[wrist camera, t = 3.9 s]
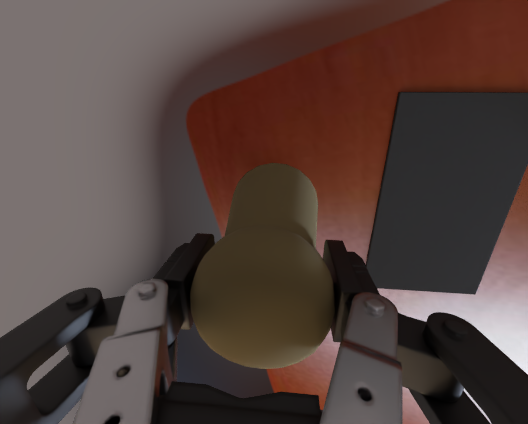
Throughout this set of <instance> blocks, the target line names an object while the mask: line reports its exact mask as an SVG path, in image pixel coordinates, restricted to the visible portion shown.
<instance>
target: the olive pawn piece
mask: <svg viewBox="0 0 528 424" xmlns="http://www.w3.org/2000/svg"><path fill="white" fill-rule="evenodd" d="M317 214H318V200H317V194H316V190H315V188H314V187H313V185H312V183H311V181H310V179H308V178H307V177H306V176H305V175H304V174H303V173H302V172H301V171H300V170H298V169H296V168H293V167H291V166H289V165H287V164H278V163H270V164H265V165H260V166H257V167H256V168H254V169H252V170H251V171H249V172H247V173H246V174H245V175H244V176H243V178H242V179H241V180H240V181H239V182H238V184H237V187H236V189H235V192H234V194H233V199H232V204H231V208H230V213H229V218H228V223H227V227H226V232H225V237H223V238H222V239H220V240H219V241H218V242H217V243H216V244H215V245H214V246H213V247H212V248H211V249H210V250H209V251H208V252H207V253H206V254H205V255H204V257H203V259H202V260H201V262H200V264H199V265H198V268H197V271H196V273H195V276H194V278H193V281H192V286H191V292H190V302H191V313H192V317H193V320H194V323H195V325H196V328H197V330H198V332H199V335H200V336H201V338H202V339H203V340H204V341H205V342H206V343H207V345H208V346H209V347H210V348H211V349H212V350H214V351H215V352H216V353H218V354H220V355H221V356H223V357H224V358H225V359H227V360H230V361H232V362H235V363H238V364H240V365H243V366H247V367H255V368H261V369H269V368H283V367H286V366H289V365H292V364H295V363H298V362H301V361H302V360H304V359H305V358H307V357H308V356H310V355H311V354H313V353H314V352H315V351H316V349H317V348H318V347H319V346H320V344H321V343H322V342H323V340H324V339H325V337H326V336H327V334H328V332H329V331H330V328H331V325H332V321H333V317H334V313H335V304H336V302H335V292H334V286H333V281H332V277H331V273H330V271H329V269H328V268H327V266H326V264H325V262H324V261H323V259H322V257H321V256H320V254H319V253H318V252H317V250H316V231H317Z"/></svg>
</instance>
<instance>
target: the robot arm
mask: <svg viewBox="0 0 528 424" xmlns="http://www.w3.org/2000/svg"><path fill="white" fill-rule="evenodd" d="M214 245H215V242H214V236H213V235H212V234H199V233H197V234H196V235H195V236H194V238H193V239H192V241H191V242H190V243H184V244H183V245H181V246H180V247H178V248H176V250H175V251H174V252H173V253H172V255H171V256H170V257H169V258H168V260H167V262H165V263H164V265H163V266H162V267H161V269H160V270H159V271H158V272H157V274H156V275H155V276H154V277H153V279H148V280H144V281H141V282H139V283H137V284H135V285H134V286H132V287H131V288H130V289H129V290H128V291H127V293H126V295H125V296H120V297H114V298H107V299H103V297H102V294H101V291H100V290H98V289H96V288H83V289H79V290H76V291H73V292H70V293H68V294H66V295H65V296H63V297H61V298H60V299H58V300H57V301H55V302H54V303H52V304H51V305H50V306H48V307H46V308H45V309H43V310H42V311H40V312H39V313H37V314H36V315H34V316H33V317H31V318H30V319H28V320H27V321H25V322H24V323H22V324H21V325H19V326H17V327H16V328H15V329H13V330H11V331H10V332H8V333H7V334H5V335H4V336H2V337H1V338H0V424H58V423H59V422H60V421H61V420H62V419H63V418H64V416H65V415H66V414H67V413H68V412H69V411H70V410H71V409H72V408H73V407H74V405H76V403H77V402H78V401H79V400H80V399H81V401H80V404H79V407H78V410H77V412H76V416H75V418H74V421H73V424H402V386H403V387H406V388H408V389H409V390H410V392H411V394H412V396H413V397H414V399H415V400H416V402H417V404H418V405H419V407H420V408H421V410H422V411H423V413H424V415H425V416H426V418H427V419H428V421H429V423H430V424H490V422H489V421H488V420H487V419H486V418H485V416H484V415H483V414H482V413H481V411H480V410H479V409H478V408H477V407H476V405H475V404H474V403H473V402H472V400H471V399H470V398H469V397H468V396H467V394H466V393H465V392H464V391H463V389H464V388H465V390H466V391H467V392H468V393H469V394H470V396H471V397H472V398H473V399H474V400H475V402H476V403H477V404H478V405H479V406H480V408H481V409H482V410H483V411H484V412H485V414H486V415H487V416H488V418H489V419H490V421H491V423H492V424H528V375H527V374H526V373H525V372H524V371H523V370H522V369H521V368H520V367H519V366H517V365H516V364H515V363H514V362H513V361H512V360H511V359H510V358H509V357H507V356H506V355H505V354H504V353H503V352H502V351H501V350H500V349H499V348H497V347H496V346H495V345H494V344H493V343H492V342H491V341H490V340H489V339H487V338H486V337H485V336H484V335H483V334H482V333H481V332H480V331H479V330H477V329H476V328H475V327H474V326H473V325H471V324H470V323H469V322H467V321H465V320H464V319H462V318H460V317H457V316H455V315H452V314H448V313H441V312H438V313H433V314H431V315H429V317H428V319H427V322H424V321H421V320H417V319H414V318H411V317H407V316H404V315H402V314H400V313H398V311H397V308H396V307H395V305H394V304H393V303H392V302H391V301H390V300H388V299H387V298H385V297H383V296H381V295H380V294H379V292H378V290H377V288H376V286H375V284H374V282H373V280H372V278H371V276H370V274H369V271H368V269H367V268H366V265H365V263H364V261H363V259H362V258H361V257H360V256H358V255H357V254H356V253H355V252H347V250H346V248H345V245H344V243H343V241H339V240H326V241H325V245H324V254H323V261H324V262H325V264H326V266H327V268H328V269H329V271H330V273H331V277H332V281H333V286H334V292H335V302H336V304H335V313H334V317H333V321H332V325H331V331H332V336H333V341H334V342H341V343H340V347H339V351H338V355H337V358H336V362H335V366H334V370H333V374H332V378H331V382H330V386H329V389H328V393H327V397H326V401H325V405H324V409H323V410H320V406H319V396H318V395H308V394H298V393H288V392H277V393H272V394H266V395H261V396H255V397H250V398H238V397H235V396H233V395H231V394H228V393H226V392H223V391H221V390H218V389H216V388H214V387H211V386H209V385H206V384H195V383H185V382H177V348H178V341H177V335H178V333H179V330H180V329H187V330H190V329H191V327H192V325H193V322H194V320H193V317H192V313H191V302H190V292H191V286H192V281H193V278H194V276H195V273H196V271H197V268H198V265H199V264H200V262H201V260H202V259H203V257H204V255H205V254H206V253H207V252H208V251H209V250H210V249H211V248H212V247H213V246H214ZM65 345H66V347H67V350H68V352H69V355H68V356H66V358H64V359H63V360H62V361H61V362H60V363H59V364H57V366H55V367H54V368H53V369H52V370H51V371H49V372H48V373H47V375H45V376H44V377H43V378H42V379H40V380H39V381H38V382H37V383H36V384H35V385H34V386H32V387H31V388H30V389H29V390H27V382H28V380H29V378H30V376H31V375H32V373H33V372H34V371H35V370H36V369H37V368H38V367H39V366H40V365H42V364H43V363H44V362H45V361H46V360H48V359H49V358H50V357H51V356H53V355H54V354H55V353H56V352H57V351H58V350H60V349H61V348H62V347H63V346H65Z"/></svg>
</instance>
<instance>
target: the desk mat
mask: <svg viewBox="0 0 528 424" xmlns="http://www.w3.org/2000/svg"><path fill="white" fill-rule="evenodd" d="M527 165H528V93H473V92H399V94H398V99H397V104H396V109H395V115H394V120H393V125H392V130H391V136H390V141H389V146H388V152H387V157H386V162H385V167H384V173H383V178H382V183H381V188H380V194H379V199H378V204H377V209H376V215H375V220H374V225H373V230H372V236H371V241H370V246H369V252H368V257H367V262H366V268H367V269H368V271H369V274H370V276H371V278H372V280H373V282H374V284H375V286H376V288H384V289H400V290H415V291H431V292H446V293H462V294H476V291H477V289H478V286H479V284H480V281H481V279H482V276H483V274H484V272H485V269H486V267H487V264H488V262H489V259H490V257H491V254H492V252H493V249H494V247H495V244H496V242H497V239H498V237H499V234H500V232H501V229H502V227H503V224H504V222H505V219H506V217H507V214H508V212H509V209H510V207H511V204H512V202H513V199H514V197H515V194H516V192H517V189H518V187H519V185H520V182H521V180H522V177H523V175H524V172H525V170H526V167H527Z"/></svg>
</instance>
